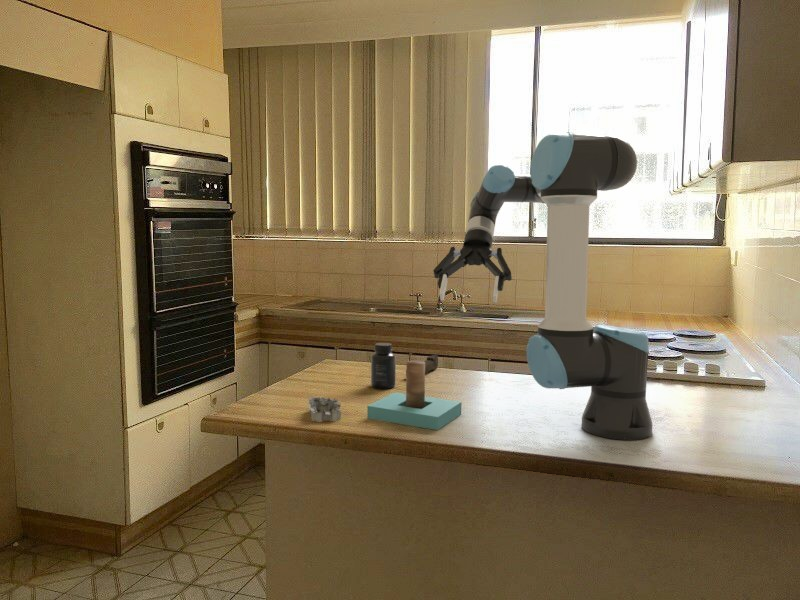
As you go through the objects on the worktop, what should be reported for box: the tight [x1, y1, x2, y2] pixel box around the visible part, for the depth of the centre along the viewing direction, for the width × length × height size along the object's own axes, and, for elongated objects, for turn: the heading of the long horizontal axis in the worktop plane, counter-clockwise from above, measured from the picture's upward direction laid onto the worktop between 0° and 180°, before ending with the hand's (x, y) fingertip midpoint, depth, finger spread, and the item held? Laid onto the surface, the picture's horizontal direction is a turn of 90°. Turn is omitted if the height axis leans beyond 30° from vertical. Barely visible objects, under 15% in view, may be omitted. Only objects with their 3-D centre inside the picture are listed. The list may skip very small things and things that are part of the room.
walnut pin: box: [405, 360, 426, 409], centre depth 157 cm, size 4×4×13 cm
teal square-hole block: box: [366, 391, 463, 431], centre depth 158 cm, size 18×14×3 cm
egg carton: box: [308, 396, 342, 423], centre depth 158 cm, size 11×8×4 cm
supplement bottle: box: [370, 342, 397, 390], centre depth 185 cm, size 7×7×12 cm
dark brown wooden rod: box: [424, 354, 439, 374], centre depth 202 cm, size 19×4×5 cm, turn 151°
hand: (467, 298), depth 167 cm, fingers open, 13 cm apart
